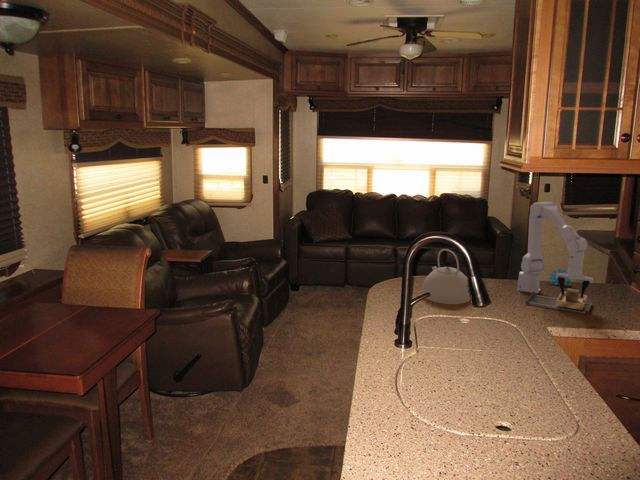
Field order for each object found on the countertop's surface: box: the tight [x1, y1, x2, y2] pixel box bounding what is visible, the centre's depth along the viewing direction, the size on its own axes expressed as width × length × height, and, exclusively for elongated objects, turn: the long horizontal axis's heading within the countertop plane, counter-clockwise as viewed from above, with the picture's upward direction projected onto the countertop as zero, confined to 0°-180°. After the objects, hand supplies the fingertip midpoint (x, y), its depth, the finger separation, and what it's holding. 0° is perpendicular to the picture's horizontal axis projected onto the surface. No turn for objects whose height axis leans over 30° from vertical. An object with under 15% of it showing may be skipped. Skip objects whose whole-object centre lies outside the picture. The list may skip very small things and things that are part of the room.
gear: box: [548, 268, 574, 287], centre depth 262 cm, size 11×6×10 cm
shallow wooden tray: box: [555, 291, 588, 310], centre depth 228 cm, size 11×16×3 cm
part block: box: [565, 287, 580, 303], centre depth 228 cm, size 4×4×5 cm
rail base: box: [525, 292, 593, 316], centre depth 231 cm, size 25×16×2 cm, turn 57°
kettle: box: [421, 248, 471, 305], centre depth 241 cm, size 25×23×22 cm
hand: (572, 295), depth 227 cm, fingers open, 7 cm apart
